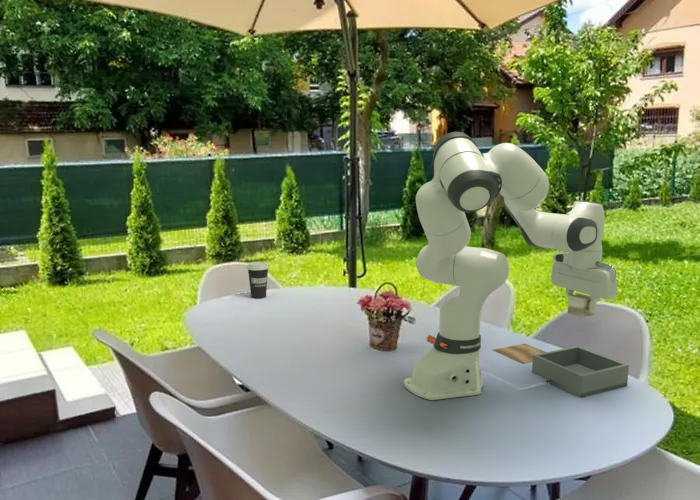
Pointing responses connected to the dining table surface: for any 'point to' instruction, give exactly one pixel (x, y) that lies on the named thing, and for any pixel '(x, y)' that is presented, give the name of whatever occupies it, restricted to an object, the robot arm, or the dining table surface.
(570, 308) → the cream block
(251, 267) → the coffee cup
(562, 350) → the bin
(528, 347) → the walnut board
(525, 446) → the dining table surface
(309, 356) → the dining table surface
